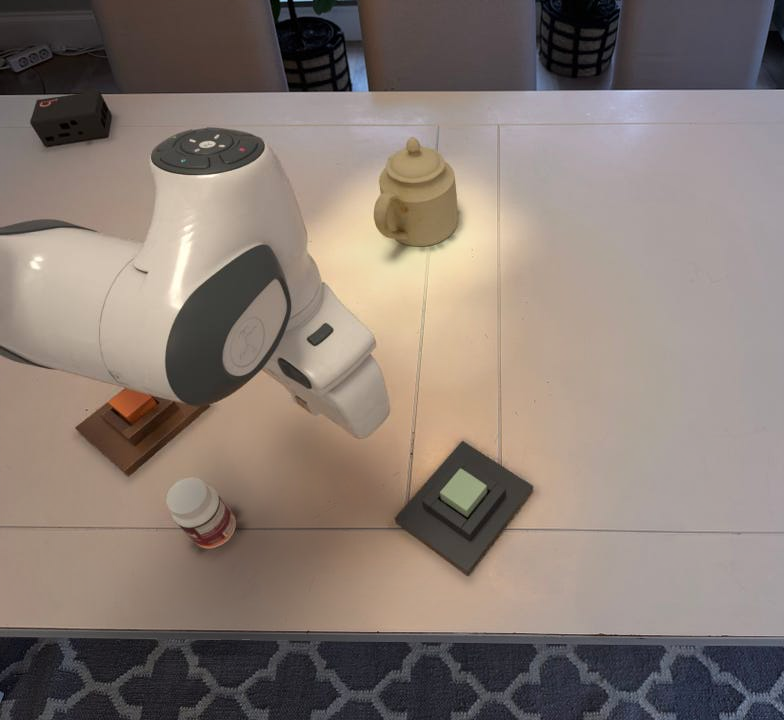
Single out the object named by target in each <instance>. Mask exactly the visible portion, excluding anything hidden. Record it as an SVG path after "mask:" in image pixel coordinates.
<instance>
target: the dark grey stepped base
mask: <svg viewBox="0 0 784 720" xmlns="http://www.w3.org/2000/svg"><path fill="white" fill-rule="evenodd" d="M460 468H461V469H463V470H464V471H466V472H467V473H469V474H470V475H472V476H473V477H475V478H476V479H478V480H479V481H481V482H482V483H484V484H485V485H487V494H486V495H485V496H484V498H483V499H482V500H481V501H480V502H479V504H478V505H477V506H476V507H475V509H474V510H473V511H472V512H471V514H470V515H469V516H468V517H466V516H464V515H463V514H461V513H460V512H458V511H457V510H456V509H454V508H453V507H451V506H450V505H448V504H447V503H445V502H444V501H443V500H441V496H440V492H441V490H442V489H443V488H444V487H445V486H446V484H447V483H448V482H449V481H450V480H451V479H452V477H453V476H454V475H455V474H456V473H457V472H458V470H459V469H460ZM533 492H534V485H533V484H531V483H530V482H528V481H526V480H525V479H523V478H522V477H520V476H518V475H517V474H515V473H514V472H512V471H510V470H509V469H507V468H506V467H504V466H503V465H501V464H500V463H499V462H497V461H495V460H494V459H492V458H491V457H489V456H487V455H486V454H484V453H483V452H481V451H479V450H478V449H476V448H475V447H473V446H472V445H470V444H469V443H467V442H466V441H464V440H461V441H460V443H458V445H457V446H456V447H455V448H454V449H453V450H452V451H451V453H450V454H449V455H448V456H447V457H446V459H444V461H443V462H442V463H441V464H440V465H439V467H437V469H436V470H435V471H434V473H432V475H431V476H430V477H429V478H428V479H427V480H426V482H425V483H424V484H423V485H422V486H421V487H420V489H419V490H418V491H417V492H416V493H415V494H414V495H413V497H411V499H410V500H409V501H408V502H407V503H406V504H405V505H404V507H403V508H402V509H401V510H400V512H399V513H397V515H396V516H395V517H394V521H395V524H396V525H398V526H399V527H401V528H402V529H403V530H405V531H406V532H407V533H409V535H412V536H413V537H414V538H415V539H417V540H419V541H420V542H421V543H422V544H424V545H425V546H426V547H428V548H429V549H430V550H432V551H433V552H434V553H436V554H437V555H438V556H440V557H441V558H443V559H444V560H446V561H447V562H448V563H450V564H451V565H453V566H454V567H455V568H457V570H459V571H460V572H462V573H463V574H465V575H466V576H468V577H469V576H470V574H471V573H472V572H473V570H475V568H476V567H477V565H478V564H479V563H480V561H481V560H482V559H483V558H484V556H485V555H486V553H487V552H488V551H489V549H490V548H491V547H492V546H493V545H494V543H495V541H497V539H498V538H499V536H500V535H501V534H502V533H503V532H504V530H505V529H506V528H507V527H508V525H509V524H510V522H511V521H512V520H513V518H515V515H517V513H518V512H519V510H520V509H521V508H522V506H524V504H525V502H527V500H528V499H529V497H530V496H531V495H532V493H533Z"/></svg>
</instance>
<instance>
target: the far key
mask: <svg viewBox="0 0 784 720" xmlns="http://www.w3.org/2000/svg"><path fill="white" fill-rule="evenodd" d="M124 389H125V388H124ZM124 389H122V390H123V391H122V390H121V391H122V392H121V391H120V392H121V393H120V392H118V393H119V394H118V393H117V394H118V395H117V394H116V395H117V396H116V395H115V396H116V397H115V396H113V397H114V398H113V397H112V398H113V399H112V398H111V399H112V400H111V399H110V400H111V401H110V400H108V401H109V402H108V401H107V402H108V403H109V404H110V405H111V407H112V408H113V409H114V410H115V411H116V412H117V413H118V414H120V415H121V416H122V417H123V418H124V419H126V420H127V421H128V422H129V423H130V424H132V425H133V424H135V423H136V422H137V421H138V420H139V419H141V418H142V417H143V416H144V415H145V414H147V413H148V412H149V411H150V410H152V409H153V408H154V407H155V406H156V405H157V403H156V402H155V400H154V399H153V398H152V396H150V395H148V394H144V393H141V392H137V391H133V390H130V389H127V388H126V389H125V390H124Z"/></svg>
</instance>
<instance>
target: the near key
mask: <svg viewBox="0 0 784 720" xmlns="http://www.w3.org/2000/svg"><path fill="white" fill-rule="evenodd" d="M486 494H487V485H485V484H484V483H482V482H481V481H479V480H478V479H476V478H475V477H473V476H472V475H470V474H469V473H467V472H466V471H464V470H463V469H461V468H460V469H459V470H458V472H457V473H456V474H455V475H454V476H453V477H452V479H451V480H450V481H449V482H448V483H447V484H446V486H445V487H444V488H443V489H442V490H441V492H440V496H441V500H443V501H444V502H445V503H447V504H448V505H450V506H451V507H453V508H454V509H456V510H457V511H458V512H460V513H461V514H463V515H464V516H466V517H468V516H469V515H470V514H471V512H472V511H473V510H474V509H475V507H476V506H477V505H478V504H479V502H480V501H481V500H482V499H483V498H484V496H485V495H486Z"/></svg>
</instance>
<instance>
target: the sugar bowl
mask: <svg viewBox="0 0 784 720" xmlns="http://www.w3.org/2000/svg"><path fill="white" fill-rule="evenodd" d="M378 184H379V191H380V192H379V193H380V195H379V196H378V197H377V199H376V201H375V204H374V208H373V220H374V225H375V227H376V229H377V230H378V232H379V233H380V234H381V235H382V236H384V237H386V238H389V239H392V240H396V241H397V242H399V243H401V244H404V245H407V246H413V247H427V246H432V245H436V244H439V243H441V242H443V241H445V240H447V239H448V238H449V237H450V236H452V235H453V233H454V232H455V231H456V229H457V227H458V222H459V216H458V215H459V214H458V196H457V184H456V175H455V171H454V169H453V167H452V166H451V165H450V164H449V163H448V162H446V160H445V157H444V155H442V153H440V152H439V151H438V150H436V149H434V148H430V147H427V146H423V145H421V144H420V141H419V140H418V139H417V138H415V137H414V136H411V137H409V139H408V140H407V141H406V146H405V147H404V148H402V149H400V150H398V151H396V152H394V153H393V154H392V155H391V156H390V157H388V159H387V161H386V164H385V168H384V169H383V170H382V171H381V172H380V175H379V180H378Z"/></svg>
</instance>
